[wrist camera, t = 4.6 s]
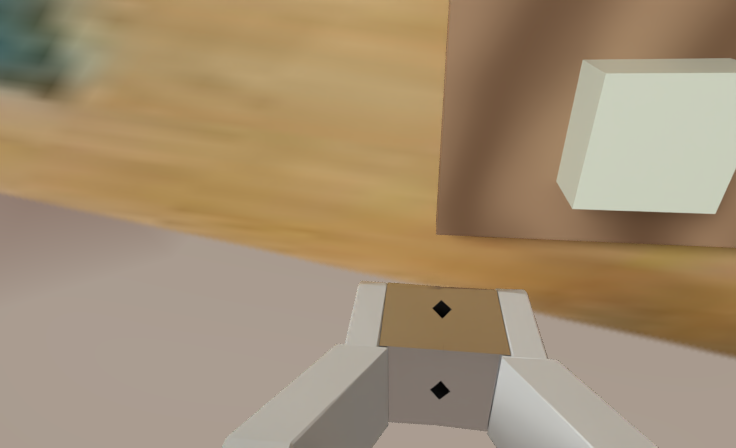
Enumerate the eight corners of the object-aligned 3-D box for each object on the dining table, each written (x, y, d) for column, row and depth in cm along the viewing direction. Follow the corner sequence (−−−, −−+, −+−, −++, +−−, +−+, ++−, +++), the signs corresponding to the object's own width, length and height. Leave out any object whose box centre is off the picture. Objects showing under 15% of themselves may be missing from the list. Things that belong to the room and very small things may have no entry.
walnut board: (1085, -53, 13) (1152, -55, 12) (880, 236, 19) (912, 255, 18) (451, -30, 16) (452, -29, 15) (436, 219, 22) (436, 234, 20)
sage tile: (730, 58, 15) (779, 72, 13) (681, 184, 18) (715, 213, 15) (582, 59, 16) (606, 73, 14) (556, 181, 18) (572, 209, 16)
